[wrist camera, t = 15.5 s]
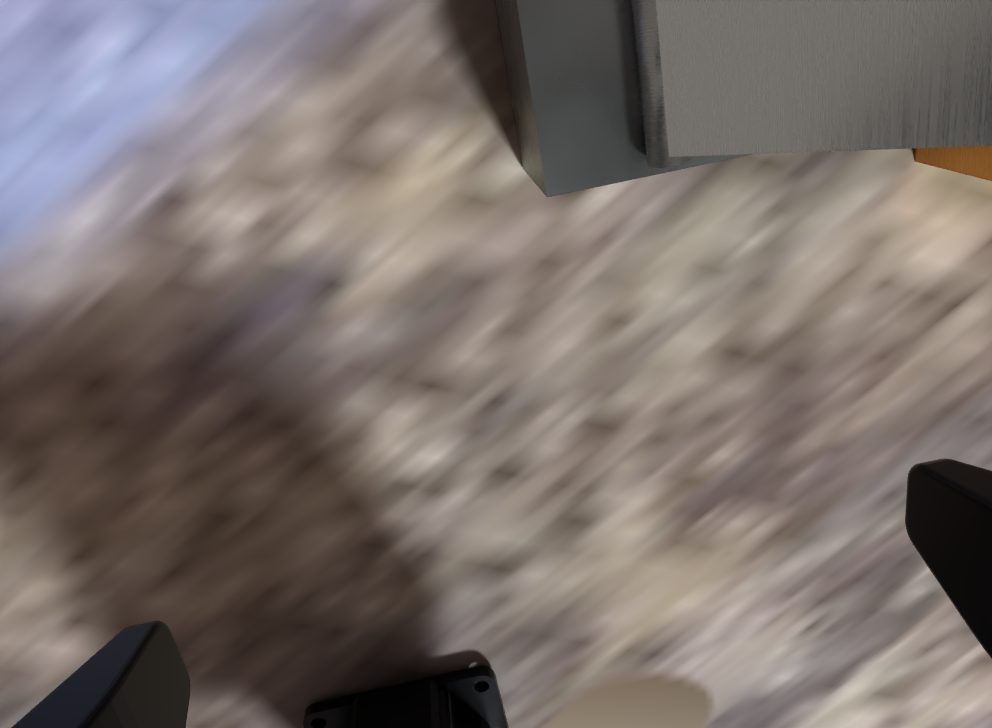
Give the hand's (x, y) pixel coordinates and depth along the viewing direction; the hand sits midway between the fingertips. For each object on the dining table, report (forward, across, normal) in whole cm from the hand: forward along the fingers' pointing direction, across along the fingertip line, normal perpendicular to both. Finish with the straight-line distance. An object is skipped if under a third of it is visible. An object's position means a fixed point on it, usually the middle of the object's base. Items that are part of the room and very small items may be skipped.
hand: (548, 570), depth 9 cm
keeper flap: (+8, -4, -5) cm, 10 cm away
